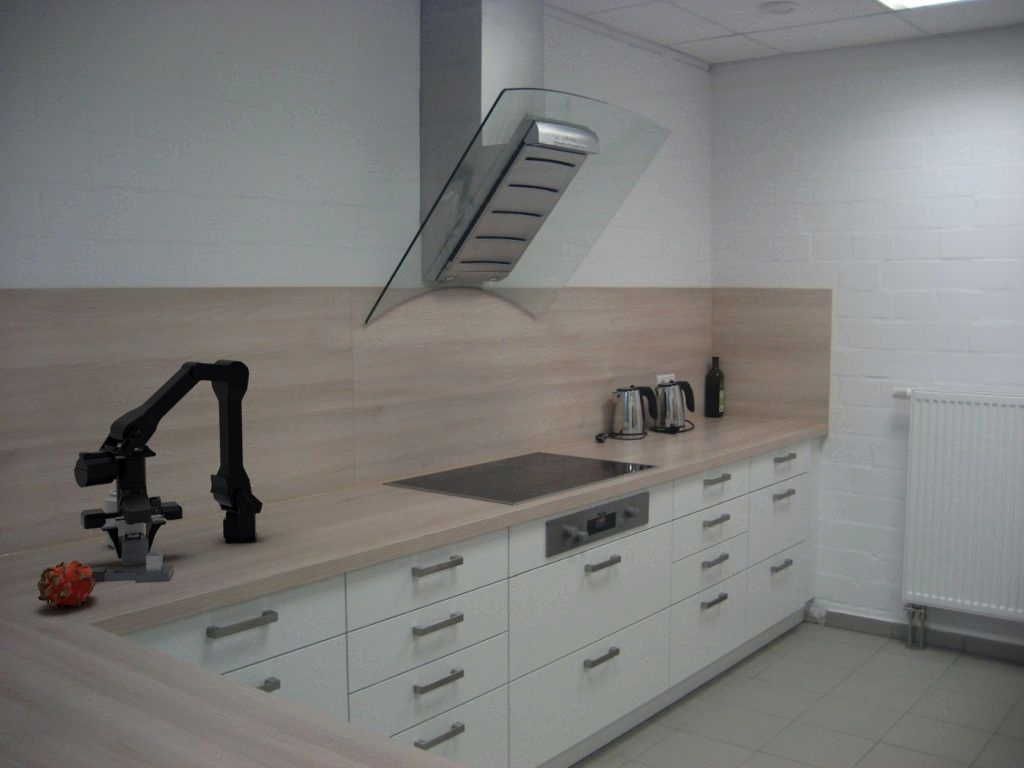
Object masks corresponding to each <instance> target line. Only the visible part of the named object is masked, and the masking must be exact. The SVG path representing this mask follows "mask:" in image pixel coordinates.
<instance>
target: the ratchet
mask: <svg viewBox="0 0 1024 768" xmlns="http://www.w3.org/2000/svg"><path fill="white" fill-rule="evenodd" d="M163 558H164V557H163V552H150V553H148V554H147V556H146V563H145V565H143V566H140V567H139V568H128V569H127V568H126V569H108V567H106V566H104V567H103V566H102V567H90V568H91V569H92V571H93V573H92V575H93V577H94V578H95V582H96V583H104V582H115V581H117V582H119V581H135V583H154V582H155V583H157V582H169V581H170V579H171V578H172V576H173V574H174V571H175V570H174V564H168V565H167V564H164V559H163Z"/></svg>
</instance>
